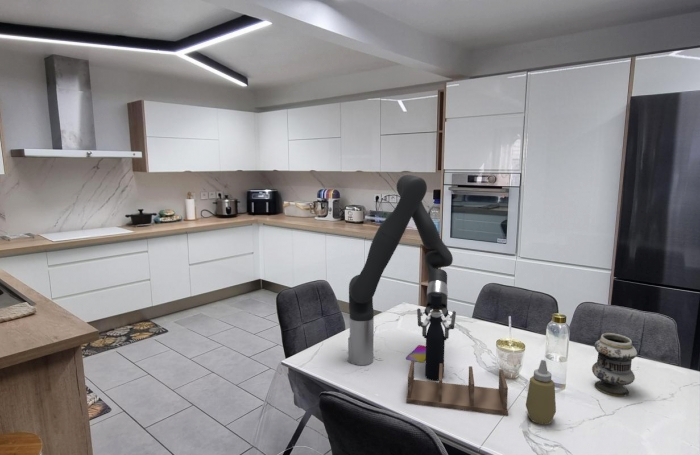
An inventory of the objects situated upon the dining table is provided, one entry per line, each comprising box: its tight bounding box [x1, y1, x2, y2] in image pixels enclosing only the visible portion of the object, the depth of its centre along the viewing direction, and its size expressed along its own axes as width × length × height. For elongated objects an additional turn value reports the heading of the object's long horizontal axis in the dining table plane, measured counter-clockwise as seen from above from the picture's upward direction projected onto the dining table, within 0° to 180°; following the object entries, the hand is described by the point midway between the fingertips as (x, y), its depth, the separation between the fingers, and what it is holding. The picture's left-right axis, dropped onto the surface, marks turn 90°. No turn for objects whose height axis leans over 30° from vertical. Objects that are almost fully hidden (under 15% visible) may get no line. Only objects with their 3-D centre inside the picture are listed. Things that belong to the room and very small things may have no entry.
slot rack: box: [405, 360, 509, 417], centre depth 131 cm, size 30×13×8 cm, turn 77°
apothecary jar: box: [591, 332, 638, 397], centre depth 136 cm, size 12×12×18 cm
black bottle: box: [424, 293, 446, 382], centre depth 144 cm, size 6×6×30 cm
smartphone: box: [405, 344, 426, 364], centre depth 165 cm, size 7×1×15 cm
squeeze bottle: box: [525, 359, 557, 425], centre depth 119 cm, size 8×8×18 cm
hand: (435, 338), depth 143 cm, fingers closed on black bottle, 6 cm apart
